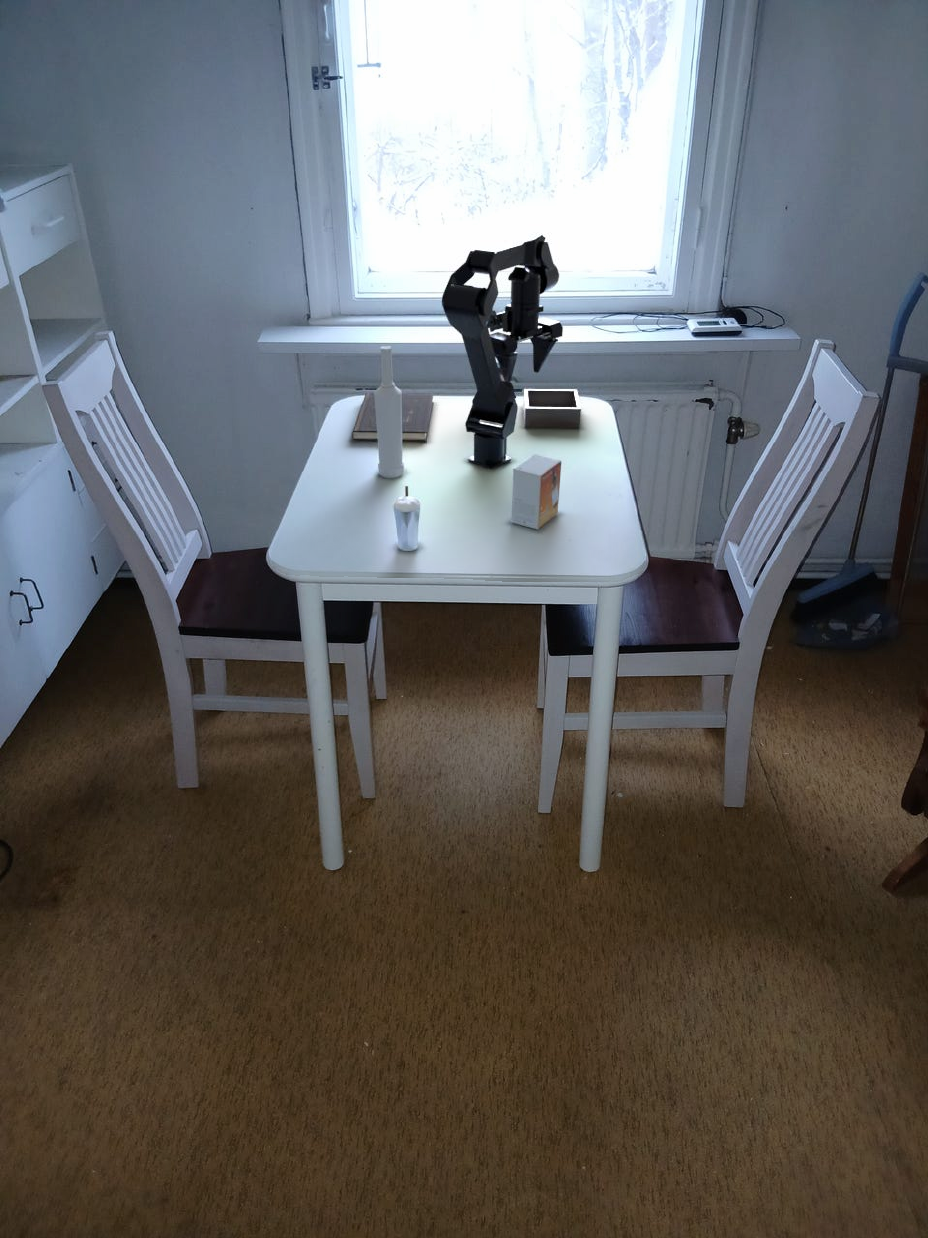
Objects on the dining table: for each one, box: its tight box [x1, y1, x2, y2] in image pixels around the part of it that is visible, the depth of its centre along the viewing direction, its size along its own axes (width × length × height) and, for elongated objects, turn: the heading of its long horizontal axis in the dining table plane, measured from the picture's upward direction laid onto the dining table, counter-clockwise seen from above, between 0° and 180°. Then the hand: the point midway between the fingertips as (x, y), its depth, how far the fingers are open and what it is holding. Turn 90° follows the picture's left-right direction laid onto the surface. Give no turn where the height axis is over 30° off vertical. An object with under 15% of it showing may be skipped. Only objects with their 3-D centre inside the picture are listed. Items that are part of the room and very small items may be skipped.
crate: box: [522, 388, 582, 429], centre depth 206 cm, size 12×12×4 cm
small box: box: [510, 454, 562, 530], centre depth 163 cm, size 8×6×10 cm
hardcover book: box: [351, 392, 435, 443], centre depth 204 cm, size 16×23×2 cm
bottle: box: [373, 345, 405, 479], centre depth 175 cm, size 5×5×25 cm
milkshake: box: [392, 485, 421, 552], centre depth 155 cm, size 5×5×10 cm
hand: (521, 377), depth 191 cm, fingers open, 9 cm apart
